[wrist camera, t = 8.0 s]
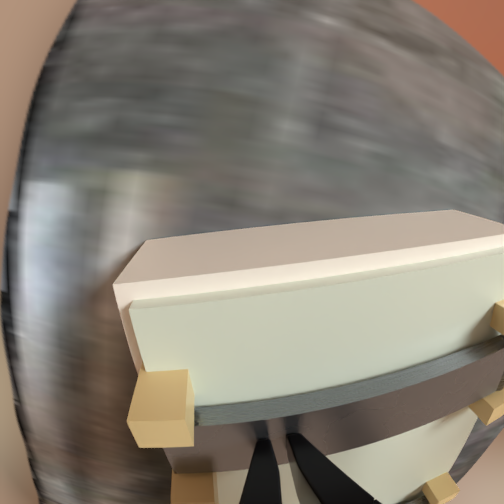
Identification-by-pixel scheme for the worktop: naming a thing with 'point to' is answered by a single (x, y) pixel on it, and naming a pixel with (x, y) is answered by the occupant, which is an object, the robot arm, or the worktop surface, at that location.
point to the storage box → (311, 333)
